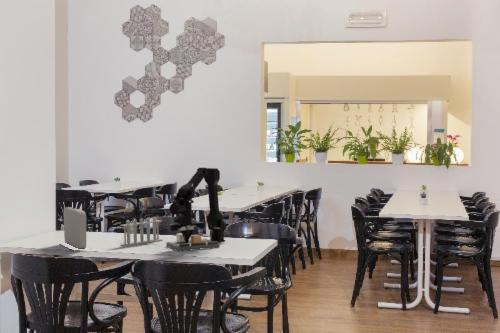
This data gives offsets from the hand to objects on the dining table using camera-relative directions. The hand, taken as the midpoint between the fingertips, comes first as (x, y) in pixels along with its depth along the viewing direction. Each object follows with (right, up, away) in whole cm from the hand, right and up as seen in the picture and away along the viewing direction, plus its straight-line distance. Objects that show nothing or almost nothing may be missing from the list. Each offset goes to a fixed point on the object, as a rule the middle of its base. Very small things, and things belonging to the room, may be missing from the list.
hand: (186, 243), depth 367 cm
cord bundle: (+6, -1, -1) cm, 6 cm away
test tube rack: (-26, -2, +20) cm, 33 cm away
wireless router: (-59, -3, +10) cm, 60 cm away
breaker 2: (+5, 0, +2) cm, 5 cm away
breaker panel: (+3, -3, +6) cm, 7 cm away
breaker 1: (-3, 0, +9) cm, 9 cm away
